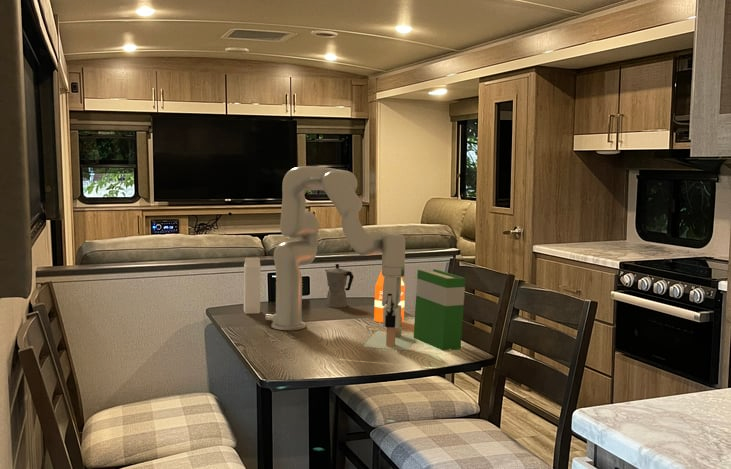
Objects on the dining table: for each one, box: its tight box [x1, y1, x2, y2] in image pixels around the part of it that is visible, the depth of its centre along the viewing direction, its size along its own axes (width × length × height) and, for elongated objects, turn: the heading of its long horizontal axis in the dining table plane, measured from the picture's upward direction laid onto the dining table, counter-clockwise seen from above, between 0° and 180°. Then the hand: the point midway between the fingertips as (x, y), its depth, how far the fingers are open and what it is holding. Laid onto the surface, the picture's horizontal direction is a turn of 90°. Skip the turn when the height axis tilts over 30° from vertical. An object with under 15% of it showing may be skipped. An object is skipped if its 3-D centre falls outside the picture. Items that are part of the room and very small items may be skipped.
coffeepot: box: [325, 263, 354, 309], centre depth 288 cm, size 15×9×18 cm, turn 51°
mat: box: [362, 330, 416, 351], centre depth 233 cm, size 15×22×1 cm
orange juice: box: [373, 269, 406, 323], centre depth 261 cm, size 8×9×20 cm
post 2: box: [395, 316, 403, 337], centre depth 239 cm, size 3×3×7 cm
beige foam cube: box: [382, 304, 401, 328], centre depth 226 cm, size 5×5×7 cm
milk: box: [243, 257, 262, 314], centre depth 272 cm, size 6×6×22 cm
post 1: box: [386, 327, 396, 347], centre depth 227 cm, size 3×3×7 cm
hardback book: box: [413, 269, 466, 351], centre depth 231 cm, size 18×7×24 cm, turn 28°
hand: (391, 324), depth 226 cm, fingers closed on beige foam cube, 5 cm apart
